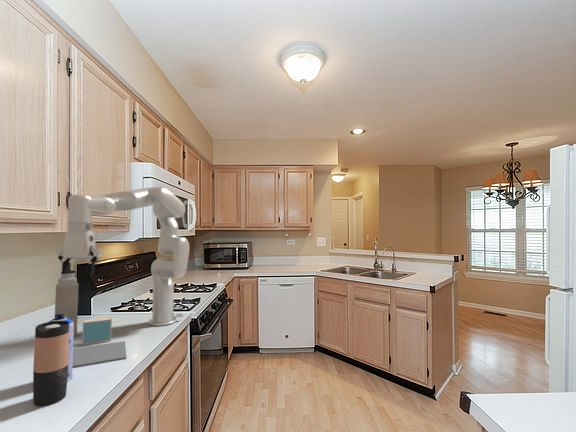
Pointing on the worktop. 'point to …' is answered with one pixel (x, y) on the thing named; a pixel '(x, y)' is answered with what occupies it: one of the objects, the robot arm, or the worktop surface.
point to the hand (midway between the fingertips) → (78, 273)
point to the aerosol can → (71, 332)
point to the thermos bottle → (67, 297)
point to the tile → (96, 331)
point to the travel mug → (50, 362)
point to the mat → (98, 354)
